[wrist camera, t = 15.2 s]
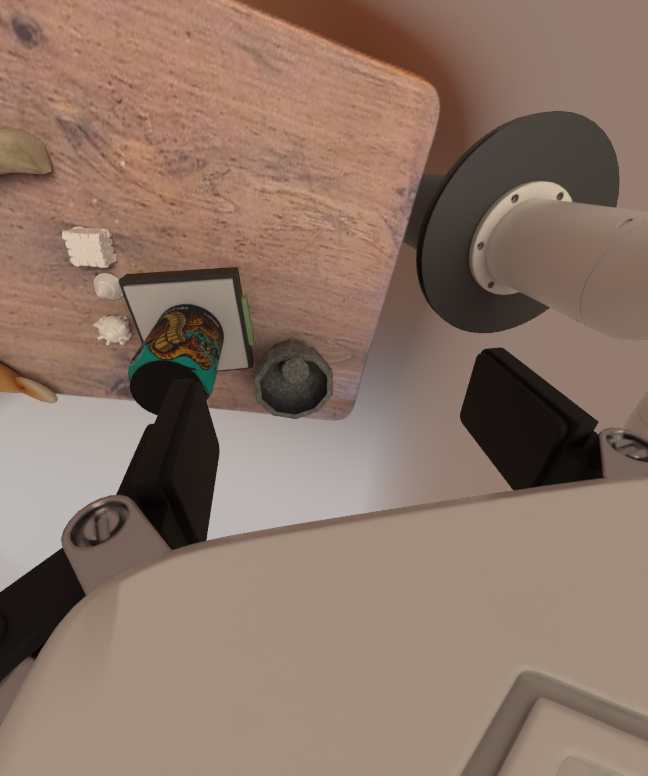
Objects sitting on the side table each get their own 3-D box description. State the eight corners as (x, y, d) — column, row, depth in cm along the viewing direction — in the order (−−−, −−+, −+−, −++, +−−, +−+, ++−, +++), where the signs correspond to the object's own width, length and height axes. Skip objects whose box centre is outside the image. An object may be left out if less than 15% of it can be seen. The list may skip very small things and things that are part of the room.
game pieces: (75, 225, 32) (58, 231, 29) (112, 228, 33) (99, 234, 30) (107, 335, 39) (96, 348, 36) (138, 336, 39) (129, 348, 37)
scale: (242, 266, 37) (241, 274, 34) (257, 358, 44) (257, 370, 41) (126, 274, 35) (115, 282, 33) (160, 367, 42) (154, 380, 40)
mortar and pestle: (323, 386, 48) (339, 443, 38) (260, 391, 47) (259, 451, 37) (324, 314, 41) (343, 361, 32) (250, 318, 40) (246, 367, 30)
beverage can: (213, 296, 35) (194, 347, 25) (232, 352, 39) (221, 414, 29) (148, 307, 35) (103, 364, 25) (173, 362, 39) (144, 429, 29)
